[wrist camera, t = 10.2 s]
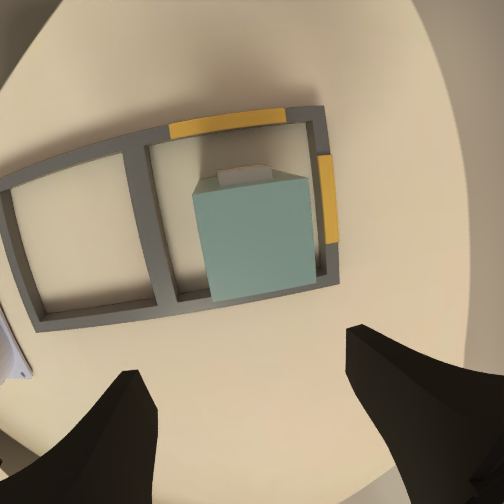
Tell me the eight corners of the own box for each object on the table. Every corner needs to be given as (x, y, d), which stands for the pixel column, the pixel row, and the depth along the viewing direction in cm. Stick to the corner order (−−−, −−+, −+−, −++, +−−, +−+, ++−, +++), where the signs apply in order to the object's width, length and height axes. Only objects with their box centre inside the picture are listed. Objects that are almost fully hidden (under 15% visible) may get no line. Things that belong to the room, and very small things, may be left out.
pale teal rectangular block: (211, 247, 18) (212, 302, 11) (197, 171, 16) (189, 180, 10) (278, 236, 18) (316, 283, 12) (268, 160, 17) (306, 163, 10)
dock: (42, 324, 18) (34, 334, 16) (-1, 181, 14) (-13, 183, 13) (332, 276, 19) (340, 285, 18) (316, 108, 16) (325, 105, 15)
